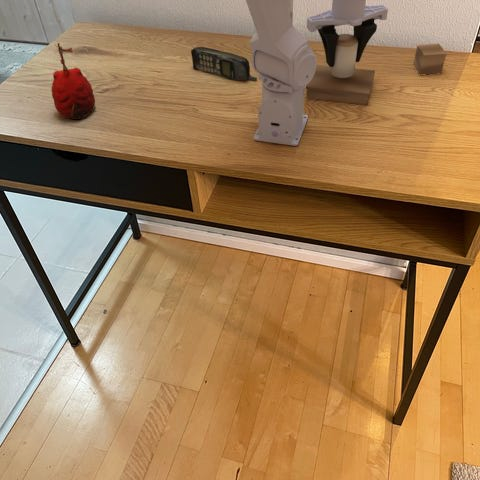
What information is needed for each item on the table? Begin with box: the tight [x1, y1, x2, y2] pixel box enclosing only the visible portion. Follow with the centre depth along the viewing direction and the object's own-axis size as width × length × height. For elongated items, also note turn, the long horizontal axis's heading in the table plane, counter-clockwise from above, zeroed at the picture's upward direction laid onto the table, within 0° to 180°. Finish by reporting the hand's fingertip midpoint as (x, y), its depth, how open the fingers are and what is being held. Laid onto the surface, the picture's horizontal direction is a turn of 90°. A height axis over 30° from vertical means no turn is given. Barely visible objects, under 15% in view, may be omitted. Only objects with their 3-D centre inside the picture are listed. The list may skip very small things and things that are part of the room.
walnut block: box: [412, 43, 447, 76], centre depth 103 cm, size 4×4×4 cm
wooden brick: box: [305, 64, 376, 106], centre depth 99 cm, size 9×12×2 cm
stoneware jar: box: [330, 33, 358, 78], centre depth 95 cm, size 5×5×6 cm
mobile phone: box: [190, 46, 258, 82], centre depth 105 cm, size 5×3×15 cm
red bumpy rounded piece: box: [50, 42, 96, 120], centre depth 93 cm, size 8×7×15 cm
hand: (342, 62), depth 96 cm, fingers closed on stoneware jar, 5 cm apart
